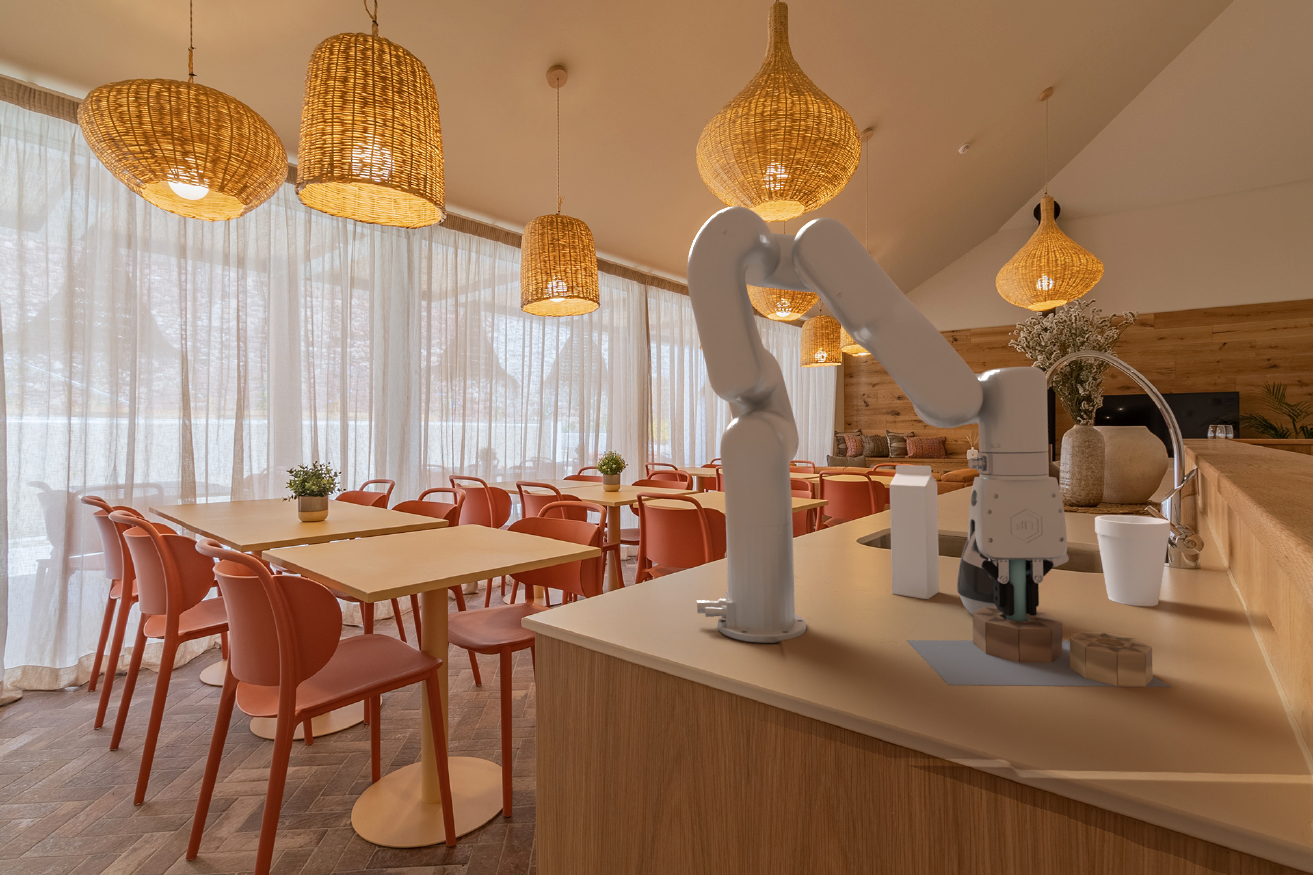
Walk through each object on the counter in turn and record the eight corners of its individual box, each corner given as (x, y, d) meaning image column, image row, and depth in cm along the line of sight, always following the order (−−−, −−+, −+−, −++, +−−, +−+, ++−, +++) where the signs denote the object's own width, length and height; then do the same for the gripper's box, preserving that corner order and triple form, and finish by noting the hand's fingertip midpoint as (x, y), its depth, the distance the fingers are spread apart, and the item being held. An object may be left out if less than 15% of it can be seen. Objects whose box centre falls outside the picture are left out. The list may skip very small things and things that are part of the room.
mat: (948, 689, 67) (948, 684, 67) (906, 644, 81) (906, 640, 81) (1171, 690, 65) (1171, 686, 65) (1089, 644, 79) (1089, 640, 79)
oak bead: (1097, 685, 66) (1096, 653, 66) (1059, 660, 73) (1059, 631, 72) (1166, 686, 65) (1166, 653, 65) (1122, 661, 72) (1121, 631, 72)
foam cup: (1166, 597, 99) (1165, 517, 99) (1176, 612, 91) (1175, 525, 91) (1094, 590, 104) (1092, 514, 104) (1098, 603, 96) (1097, 521, 96)
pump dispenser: (1050, 630, 84) (1048, 521, 84) (969, 628, 86) (967, 521, 86) (1021, 609, 94) (1020, 511, 94) (949, 607, 96) (947, 511, 96)
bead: (996, 662, 73) (995, 628, 73) (964, 636, 82) (963, 606, 82) (1075, 662, 72) (1075, 628, 72) (1034, 636, 81) (1034, 606, 81)
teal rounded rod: (1011, 639, 76) (1009, 543, 75) (1003, 633, 78) (1001, 539, 78) (1031, 639, 75) (1029, 543, 75) (1021, 633, 78) (1019, 539, 78)
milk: (927, 600, 101) (925, 467, 100) (891, 594, 105) (888, 466, 104) (939, 591, 105) (937, 464, 105) (904, 586, 109) (901, 463, 109)
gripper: (959, 470, 73) (963, 622, 74) (1099, 466, 72) (1102, 621, 72) (936, 466, 81) (939, 604, 81) (1062, 463, 80) (1064, 603, 80)
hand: (1016, 611), depth 77 cm, fingers closed on teal rounded rod, 2 cm apart
